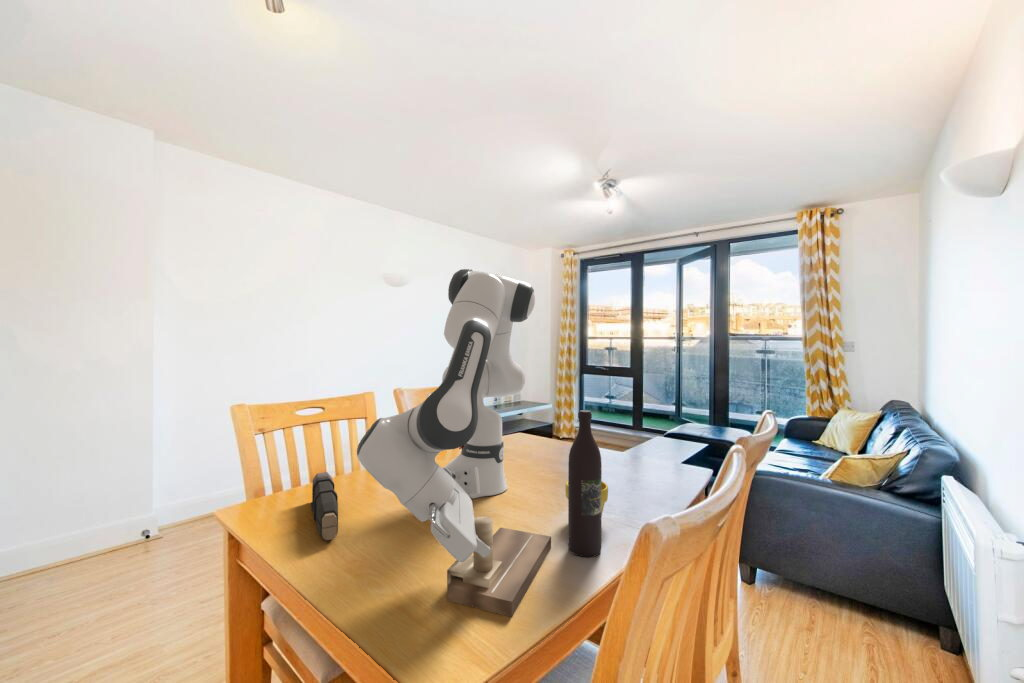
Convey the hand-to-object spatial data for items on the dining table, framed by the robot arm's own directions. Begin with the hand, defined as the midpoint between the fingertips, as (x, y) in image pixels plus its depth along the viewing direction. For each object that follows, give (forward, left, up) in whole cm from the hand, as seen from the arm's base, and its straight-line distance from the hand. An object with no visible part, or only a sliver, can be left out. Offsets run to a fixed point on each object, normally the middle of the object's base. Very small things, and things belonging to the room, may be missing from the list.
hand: (486, 545), depth 74 cm
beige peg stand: (-2, 0, -7) cm, 8 cm away
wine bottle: (+14, +21, -8) cm, 26 cm away
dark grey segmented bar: (-50, +12, -8) cm, 52 cm away
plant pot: (+12, +34, -8) cm, 37 cm away
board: (+1, +7, -8) cm, 10 cm away
